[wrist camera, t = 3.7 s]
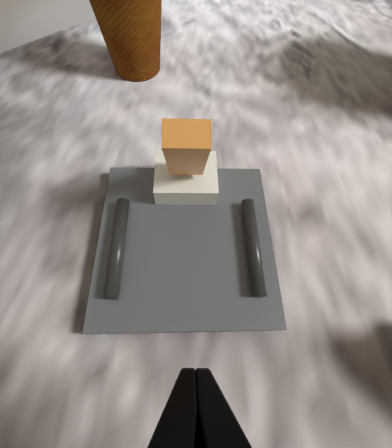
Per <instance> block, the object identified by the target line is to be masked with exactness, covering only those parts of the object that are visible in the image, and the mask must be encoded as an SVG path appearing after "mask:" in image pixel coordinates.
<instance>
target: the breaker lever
mask: <svg viewBox="0 0 392 448" xmlns="http://www.w3.org/2000/svg"><path fill="white" fill-rule="evenodd" d="M162 151H163V154H164V157H165V161H166V164H167V167H168V171H169V174H170V175H203V172H204V169H205V166H206V163H207V160H208V157H209V154H210V151H211V119H162Z"/></svg>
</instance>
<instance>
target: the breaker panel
mask: <svg viewBox="0 0 392 448" xmlns="http://www.w3.org/2000/svg"><path fill="white" fill-rule="evenodd" d="M266 330H287V329H286V323H285V317H284V311H283V305H282V299H281V293H280V287H279V282H278V276H277V270H276V264H275V258H274V252H273V246H272V240H271V234H270V228H269V222H268V216H267V210H266V204H265V198H264V192H263V186H262V180H261V174H260V169H217V160H216V151H210V154H209V157H208V160H207V163H206V166H205V169H204V172H203V175H170V174H169V171H168V167H167V164H166V161H165V157H164V154H163V151H156V158H155V168H110V173H109V179H108V185H107V190H106V196H105V202H104V208H103V214H102V220H101V226H100V232H99V238H98V244H97V249H96V255H95V261H94V267H93V273H92V279H91V285H90V291H89V297H88V303H87V309H86V314H85V320H84V326H83V332H82V334H116V333H166V332H216V331H266Z"/></svg>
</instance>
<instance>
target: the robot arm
mask: <svg viewBox="0 0 392 448" xmlns="http://www.w3.org/2000/svg"><path fill="white" fill-rule="evenodd" d="M147 448H252V447H251V445H250V443H249V441H248V439H247V438H246V436H245V434H244V432H243V430H242V428H241V427H240V425H239V423H238V421H237V419H236V417H235V415H234V414H233V412H232V410H231V408H230V406H229V404H228V402H227V401H226V399H225V397H224V395H223V393H222V391H221V390H220V388H219V386H218V384H217V382H216V380H215V378H214V377H213V375H212V373H211V371H210V370H209V369H208V368H197V369H196V371H195V369H194V368H183V369H182V370H181V371H180V373H179V376H178V378H177V380H176V383H175V385H174V387H173V390H172V392H171V394H170V397H169V399H168V401H167V403H166V406H165V408H164V410H163V413H162V415H161V417H160V420H159V422H158V424H157V426H156V429H155V431H154V433H153V436H152V438H151V440H150V443H149V445H148V447H147Z"/></svg>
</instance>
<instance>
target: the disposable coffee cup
mask: <svg viewBox="0 0 392 448" xmlns="http://www.w3.org/2000/svg"><path fill="white" fill-rule="evenodd" d="M89 1H90V3H91V6H92V8H93V11H94V14H95V16H96V19H97V22H98V24H99V27H100V30H101V32H102V35H103V37H104V40H105V42H106V45H107V48H108V50H109V53H110V56H111V58H112V61H113V63H114V66H115V69H116V71H117V73H118V75H119V76H121V77H122V78H124V79H126V80H130V81H145V80H148V79H151V78H153V77H154V76H155V75H157V73H158V72H159V70H160V41H161V0H89Z"/></svg>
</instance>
